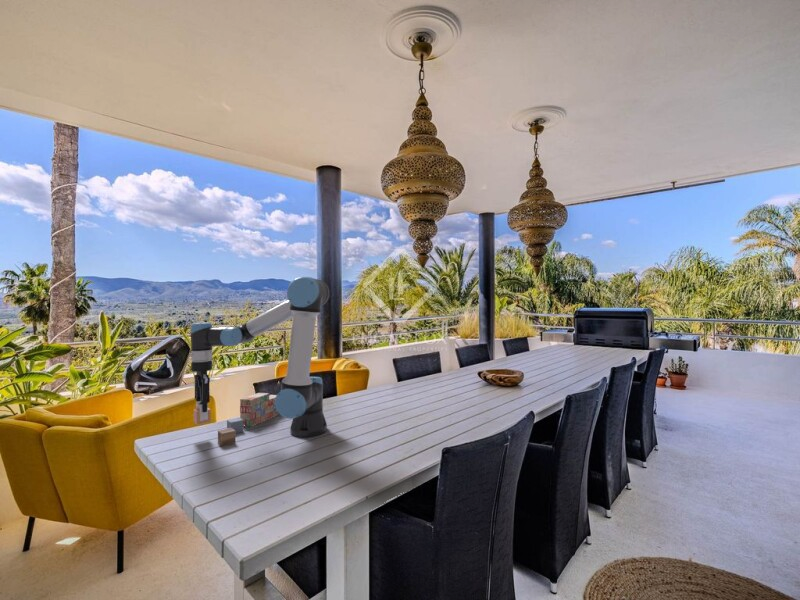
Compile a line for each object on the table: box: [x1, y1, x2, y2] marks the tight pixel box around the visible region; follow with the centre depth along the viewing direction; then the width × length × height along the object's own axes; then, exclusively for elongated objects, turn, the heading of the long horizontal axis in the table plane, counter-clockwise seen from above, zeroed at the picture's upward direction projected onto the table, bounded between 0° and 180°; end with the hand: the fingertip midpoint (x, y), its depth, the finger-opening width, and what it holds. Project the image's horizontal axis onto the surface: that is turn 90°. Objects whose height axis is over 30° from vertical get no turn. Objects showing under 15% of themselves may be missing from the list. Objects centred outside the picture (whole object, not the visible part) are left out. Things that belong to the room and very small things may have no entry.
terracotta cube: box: [193, 407, 212, 425], centre depth 145 cm, size 5×5×5 cm
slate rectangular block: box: [226, 417, 244, 434], centre depth 154 cm, size 5×5×5 cm
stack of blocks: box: [239, 392, 280, 427], centre depth 171 cm, size 21×6×12 cm, turn 162°
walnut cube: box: [217, 427, 237, 447], centre depth 140 cm, size 5×5×5 cm
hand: (202, 418), depth 145 cm, fingers closed on terracotta cube, 5 cm apart
